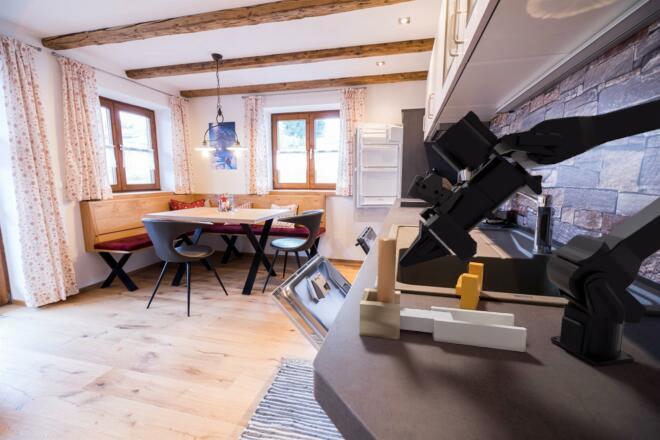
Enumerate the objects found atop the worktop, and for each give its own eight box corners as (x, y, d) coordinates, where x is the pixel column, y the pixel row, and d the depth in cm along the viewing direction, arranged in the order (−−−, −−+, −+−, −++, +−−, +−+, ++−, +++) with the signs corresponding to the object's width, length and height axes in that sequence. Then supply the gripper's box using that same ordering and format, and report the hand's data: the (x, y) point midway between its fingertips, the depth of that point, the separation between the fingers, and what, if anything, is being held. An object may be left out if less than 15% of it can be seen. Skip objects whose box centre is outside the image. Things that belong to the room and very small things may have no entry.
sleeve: (511, 333, 45) (512, 314, 45) (525, 351, 40) (526, 330, 40) (430, 324, 48) (431, 306, 48) (433, 340, 43) (434, 320, 43)
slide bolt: (449, 325, 46) (454, 240, 45) (453, 335, 43) (458, 244, 42) (371, 317, 49) (372, 237, 48) (369, 325, 46) (371, 240, 45)
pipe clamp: (460, 288, 66) (461, 261, 65) (481, 292, 64) (483, 263, 63) (450, 306, 56) (451, 274, 55) (475, 311, 54) (477, 278, 53)
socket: (399, 318, 50) (400, 290, 50) (399, 339, 43) (400, 307, 43) (364, 315, 52) (365, 287, 51) (359, 334, 45) (359, 303, 44)
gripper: (434, 161, 51) (370, 221, 55) (452, 147, 33) (356, 237, 37) (480, 206, 50) (412, 264, 54) (524, 217, 32) (418, 302, 36)
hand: (400, 265), depth 45 cm, fingers closed
